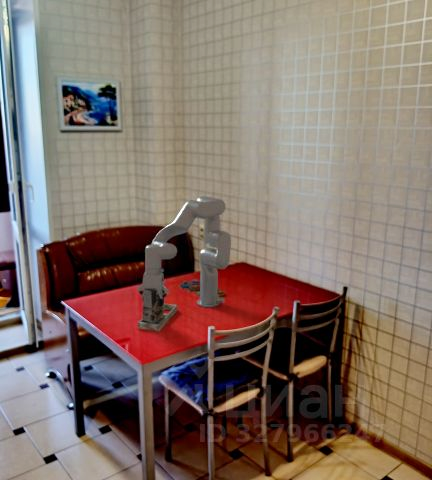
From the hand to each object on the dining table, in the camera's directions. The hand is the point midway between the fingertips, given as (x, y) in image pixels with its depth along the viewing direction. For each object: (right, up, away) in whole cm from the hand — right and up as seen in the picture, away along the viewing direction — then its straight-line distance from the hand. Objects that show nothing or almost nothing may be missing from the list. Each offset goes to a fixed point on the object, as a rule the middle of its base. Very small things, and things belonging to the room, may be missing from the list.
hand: (153, 304), depth 224 cm
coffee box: (0, -8, +2) cm, 8 cm away
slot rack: (+2, -9, +9) cm, 12 cm away
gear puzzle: (+23, +1, +52) cm, 57 cm away
